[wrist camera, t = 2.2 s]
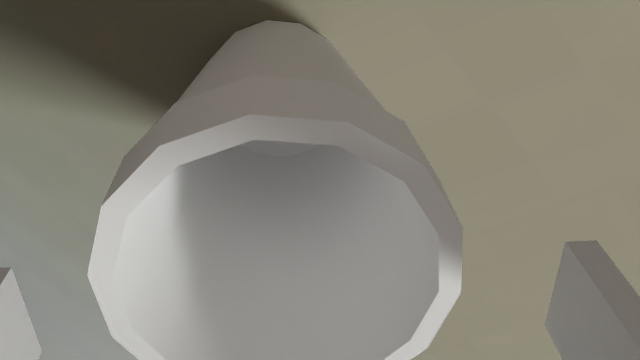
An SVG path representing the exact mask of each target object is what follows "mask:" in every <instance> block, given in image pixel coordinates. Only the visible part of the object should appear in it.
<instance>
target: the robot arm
mask: <svg viewBox="0 0 640 360" xmlns="http://www.w3.org/2000/svg"><path fill="white" fill-rule="evenodd" d="M545 327H546V329H547V331H548V332H549V334H550V336H551V338H552V340H553V342H554V344H555V346H556V348H557V350H558V351H559V353H560V355H561V357H562V359H563V360H640V297H639V295H638V294H637V293H636V291H635V290H634V289H633V287H632V286H631V285H630V283H629V282H628V281H627V280H626V278H625V277H624V276H623V274H622V273H621V272H620V270H619V269H618V268H617V267H616V265H615V264H614V263H613V261H612V260H611V259H610V257H609V256H608V255H607V253H606V252H605V251H604V250H603V248H602V247H601V246H600V244H599V243H598V242H597V240H594V241H572V242H565V245H564V250H563V254H562V258H561V262H560V266H559V270H558V274H557V278H556V282H555V286H554V290H553V294H552V298H551V302H550V306H549V310H548V314H547V318H546V322H545ZM41 352H42V350H41V347H40V344H39V342H38V339H37V336H36V334H35V331H34V328H33V325H32V323H31V320H30V317H29V314H28V312H27V309H26V306H25V303H24V301H23V298H22V295H21V293H20V290H19V287H18V284H17V282H16V279H15V276H14V273H13V271H12V268H11V267H10V268H0V360H38V359H39V357H40V355H41Z"/></svg>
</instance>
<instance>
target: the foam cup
mask: <svg viewBox="0 0 640 360" xmlns="http://www.w3.org/2000/svg"><path fill="white" fill-rule="evenodd" d="M462 231H463V228H462V225H461V223H460V221H459V219H458V217H457V215H456V213H455V211H454V209H453V207H452V205H451V202H450V200H449V198H448V196H447V194H446V192H445V190H444V188H443V186H442V184H441V182H440V180H439V178H438V176H437V174H436V173H435V171H434V170H433V168H432V166H431V165H430V163H429V161H428V160H427V158H426V156H425V155H424V153H423V151H422V150H421V148H420V146H419V145H418V143H417V141H416V140H415V138H414V136H413V135H412V133H411V131H410V130H409V128H408V126H407V125H406V123H405V122H404V121H402V120H401V119H399V118H397V117H396V116H394V115H392V114H391V113H389V112H387V111H386V110H385V109H384V108H383V106H382V105H381V104H380V103H379V101H378V100H377V99H376V98H375V96H374V95H373V94H372V93H371V91H370V90H369V89H368V88H367V87H366V85H365V84H364V83H363V82H362V80H361V79H360V78H359V77H358V75H357V74H356V73H355V72H354V70H353V69H352V68H351V67H350V66H349V64H348V63H347V62H346V61H345V59H344V58H343V57H342V56H341V54H340V53H339V52H338V51H337V49H336V48H335V47H334V46H333V45H332V43H330V42H329V40H327V39H325V38H324V37H322V36H320V35H319V34H317V33H316V32H314V31H312V30H311V29H309V28H307V27H306V26H304V25H302V24H301V23H291V22H281V21H271V20H266V21H263V22H261V23H258V24H255V25H252V26H250V27H247V28H244V29H241V30H239V31H236V32H235V33H234V34H233V35H232V36H231V37H230V38H229V39H228V40H227V41H226V42H225V44H224V45H223V46H222V47H221V48H220V49H219V50H218V51H217V52H216V53H215V54H214V55H213V56H212V58H211V59H210V60H209V61H208V62H207V64H206V65H205V66H204V67H203V69H202V70H201V71H200V73H199V74H198V75H197V76H196V78H195V79H194V80H193V82H192V83H191V84H190V85H189V87H188V88H187V89H186V91H185V92H184V93H183V94H182V96H181V97H180V98H179V100H178V101H177V102H176V103H174V104H173V106H172V107H171V108H170V109H169V110H168V111H167V112H166V113H165V114H164V115H163V116H162V117H161V118H160V119H159V120H158V121H157V123H156V124H155V125H154V126H153V127H152V128H151V129H150V130H149V131H148V132H147V133H146V134H145V135H144V136H143V137H142V138H141V140H140V141H139V142H138V143H137V144H136V145H135V146H134V147H133V148H132V149H131V150H130V151H129V152H128V153H127V154H126V155H125V157H124V158H123V160H122V162H121V165H120V167H119V169H118V171H117V173H116V175H115V178H114V180H113V182H112V184H111V186H110V188H109V190H108V193H107V195H106V197H105V199H104V201H103V203H102V206H101V210H100V215H99V220H98V225H97V230H96V235H95V240H94V244H93V249H92V254H91V259H90V264H89V269H88V274H87V276H88V279H89V281H90V284H91V286H92V288H93V291H94V293H95V296H96V298H97V301H98V303H99V306H100V308H101V311H102V313H103V316H104V318H105V321H106V323H107V326H108V328H109V331H110V333H111V336H112V337H113V338H114V339H115V340H116V341H117V342H118V343H120V344H121V345H122V346H123V347H124V348H125V349H127V350H128V351H129V352H130V353H131V354H132V355H134V356H135V357H136V358H137V359H138V360H411V359H412V358H414V357H415V356H417V355H418V354H419V353H421V352H422V351H424V350H425V349H427V348H428V346H429V344H430V343H431V341H432V339H433V338H434V336H435V335H436V333H437V331H438V330H439V328H440V326H441V325H442V323H443V321H444V320H445V318H446V316H447V315H448V313H449V312H450V310H451V308H452V307H453V305H454V303H455V302H456V300H457V298H458V297H459V295H460V293H461V272H462Z"/></svg>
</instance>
